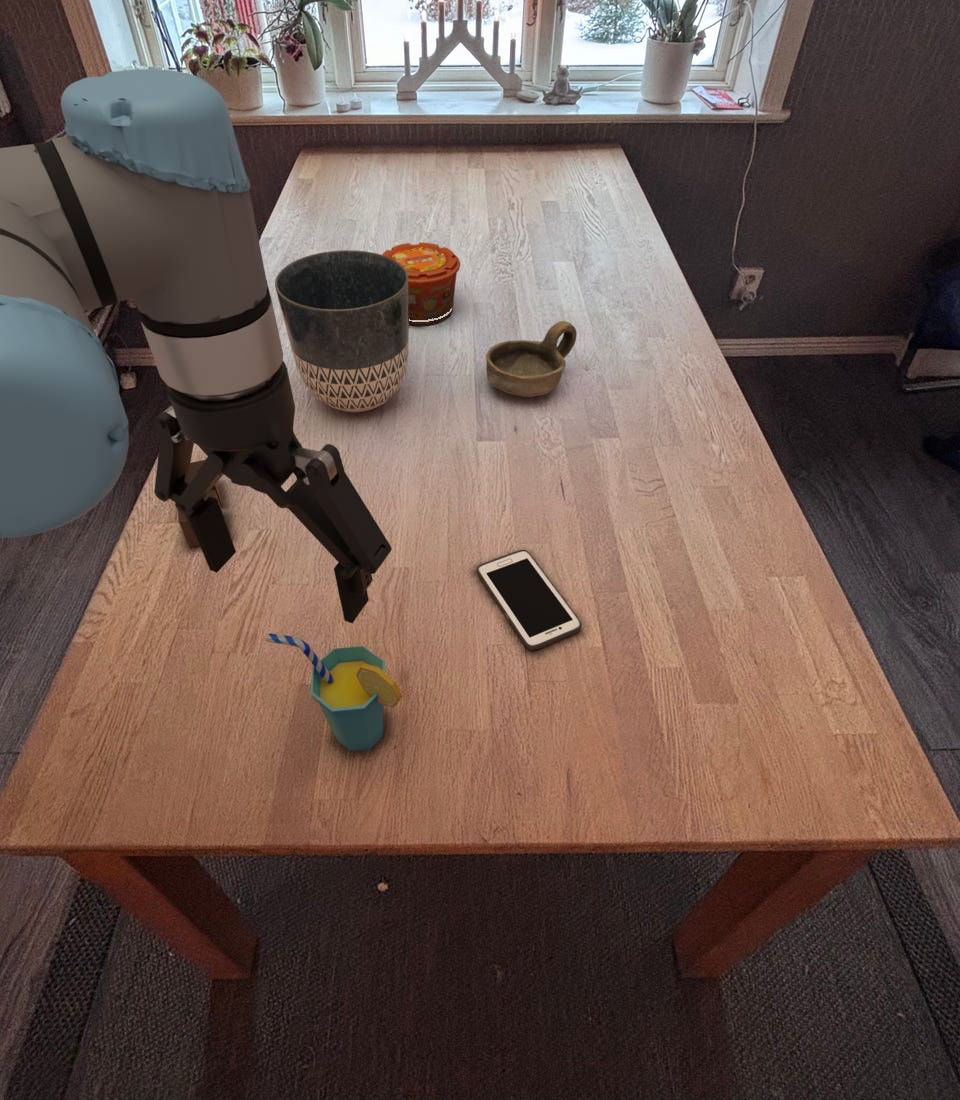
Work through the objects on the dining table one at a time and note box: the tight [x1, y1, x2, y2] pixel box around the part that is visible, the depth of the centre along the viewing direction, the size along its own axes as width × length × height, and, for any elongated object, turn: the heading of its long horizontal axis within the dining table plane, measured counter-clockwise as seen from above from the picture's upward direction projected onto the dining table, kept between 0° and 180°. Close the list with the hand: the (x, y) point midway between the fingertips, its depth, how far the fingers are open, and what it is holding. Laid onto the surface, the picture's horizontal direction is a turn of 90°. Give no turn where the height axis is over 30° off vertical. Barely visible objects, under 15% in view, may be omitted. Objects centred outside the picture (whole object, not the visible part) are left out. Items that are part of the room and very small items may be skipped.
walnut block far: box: [187, 459, 223, 508], centre depth 96 cm, size 5×5×5 cm
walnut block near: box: [177, 490, 226, 549], centre depth 92 cm, size 5×5×5 cm
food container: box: [381, 242, 461, 327], centre depth 134 cm, size 16×16×11 cm
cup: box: [265, 632, 403, 752], centre depth 68 cm, size 14×8×15 cm, turn 74°
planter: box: [274, 249, 410, 413], centre depth 108 cm, size 20×20×21 cm
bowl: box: [485, 320, 577, 397], centre depth 117 cm, size 14×18×10 cm
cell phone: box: [476, 549, 582, 651], centre depth 86 cm, size 8×15×1 cm, turn 27°
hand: (288, 585), depth 59 cm, fingers open, 13 cm apart
